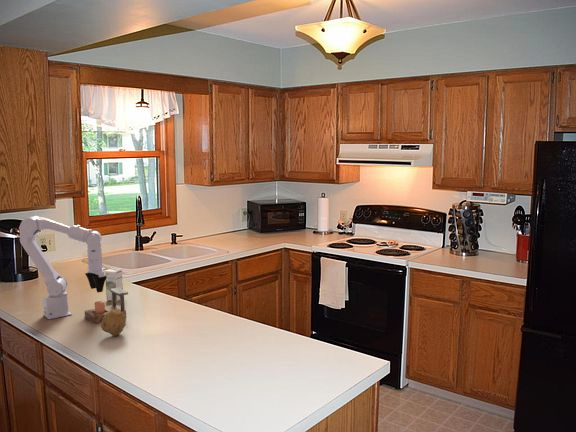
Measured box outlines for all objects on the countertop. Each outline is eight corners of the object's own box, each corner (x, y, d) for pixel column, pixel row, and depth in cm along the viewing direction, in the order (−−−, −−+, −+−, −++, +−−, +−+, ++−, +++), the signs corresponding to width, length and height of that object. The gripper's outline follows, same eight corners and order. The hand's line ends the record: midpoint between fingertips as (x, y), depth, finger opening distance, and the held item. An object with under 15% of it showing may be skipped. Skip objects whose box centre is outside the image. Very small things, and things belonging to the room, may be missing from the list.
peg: (106, 318, 218) (106, 302, 217) (97, 320, 216) (96, 304, 215) (103, 316, 221) (102, 300, 220) (94, 318, 219) (93, 302, 218)
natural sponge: (100, 341, 193) (99, 315, 192) (102, 332, 202) (101, 308, 200) (126, 338, 196) (125, 312, 194) (127, 330, 204) (125, 305, 203)
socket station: (94, 324, 212) (92, 299, 210) (84, 317, 220) (83, 293, 218) (129, 316, 221) (128, 292, 220) (119, 310, 229) (118, 287, 228)
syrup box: (124, 298, 248) (122, 268, 246) (116, 301, 242) (115, 271, 240) (113, 297, 249) (112, 267, 247) (106, 300, 243) (104, 270, 242)
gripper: (110, 260, 221) (112, 292, 223) (98, 255, 232) (99, 285, 234) (93, 263, 216) (95, 295, 218) (82, 257, 227) (83, 287, 229)
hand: (96, 290), depth 226 cm, fingers open, 7 cm apart
